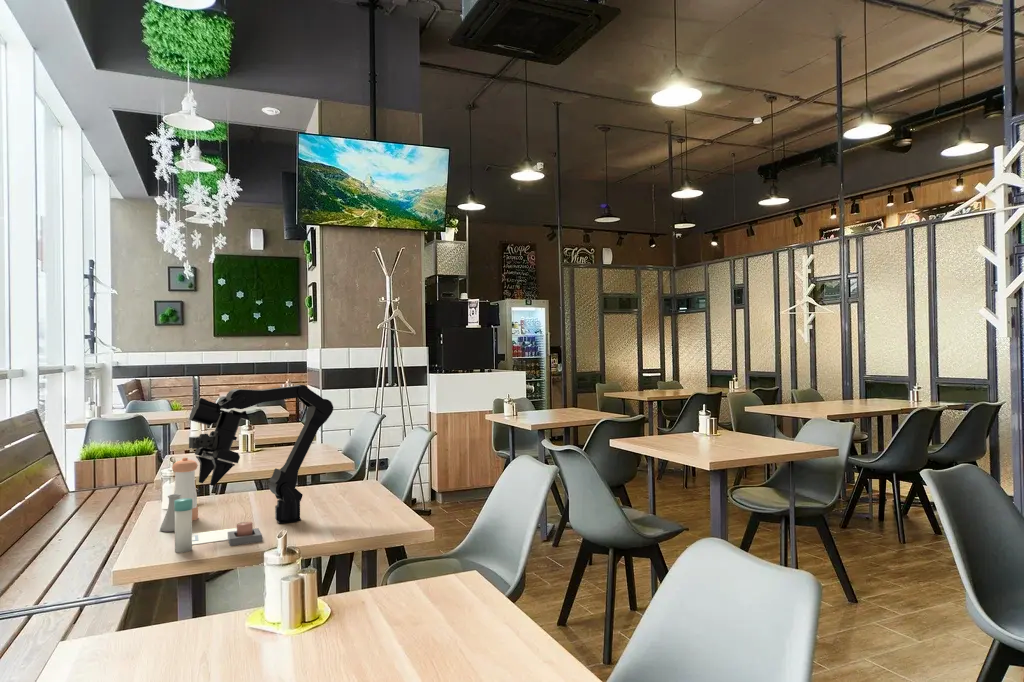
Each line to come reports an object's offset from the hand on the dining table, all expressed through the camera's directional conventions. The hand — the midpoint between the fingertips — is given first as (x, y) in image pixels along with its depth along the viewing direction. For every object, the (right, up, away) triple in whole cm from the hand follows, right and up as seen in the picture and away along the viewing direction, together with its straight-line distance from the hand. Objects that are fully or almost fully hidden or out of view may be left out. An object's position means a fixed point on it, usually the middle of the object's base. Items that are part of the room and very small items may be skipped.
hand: (206, 484), depth 183 cm
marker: (+1, -14, -14) cm, 20 cm away
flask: (-13, -15, +7) cm, 21 cm away
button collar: (+13, -14, -5) cm, 20 cm away
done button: (+13, -13, -5) cm, 19 cm away
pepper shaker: (-15, -15, +18) cm, 28 cm away
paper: (+2, -14, -2) cm, 15 cm away
